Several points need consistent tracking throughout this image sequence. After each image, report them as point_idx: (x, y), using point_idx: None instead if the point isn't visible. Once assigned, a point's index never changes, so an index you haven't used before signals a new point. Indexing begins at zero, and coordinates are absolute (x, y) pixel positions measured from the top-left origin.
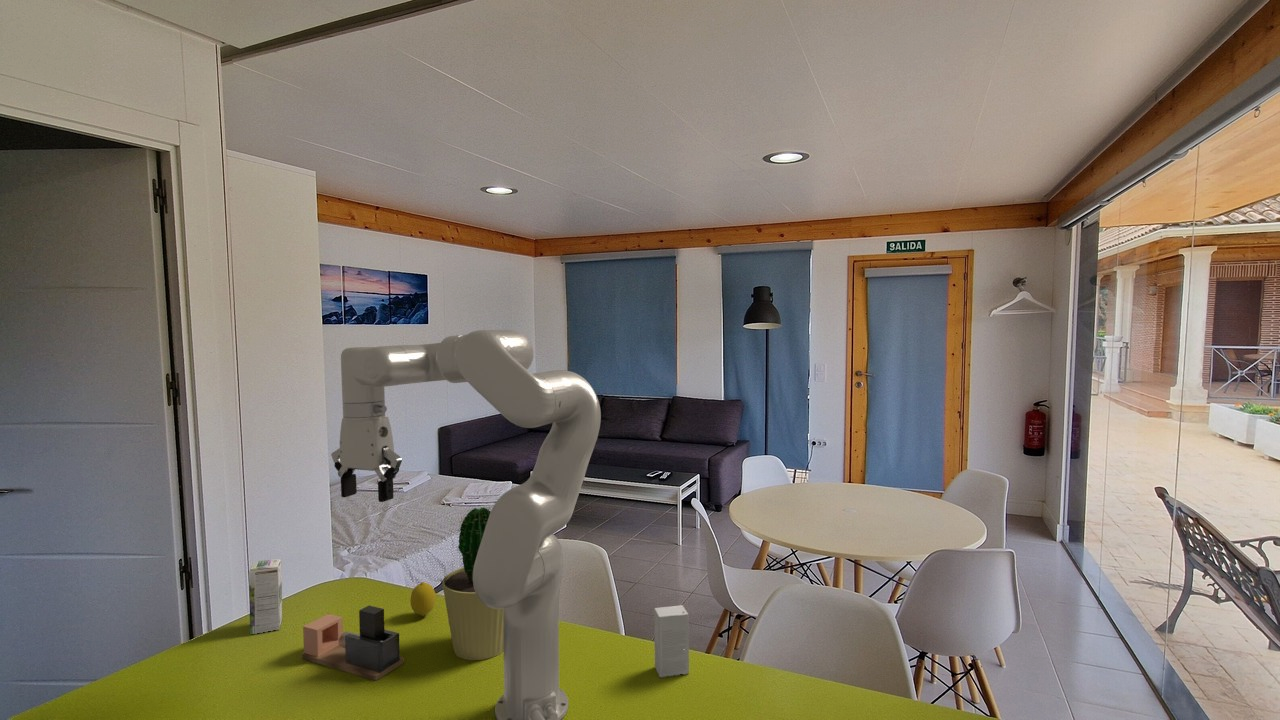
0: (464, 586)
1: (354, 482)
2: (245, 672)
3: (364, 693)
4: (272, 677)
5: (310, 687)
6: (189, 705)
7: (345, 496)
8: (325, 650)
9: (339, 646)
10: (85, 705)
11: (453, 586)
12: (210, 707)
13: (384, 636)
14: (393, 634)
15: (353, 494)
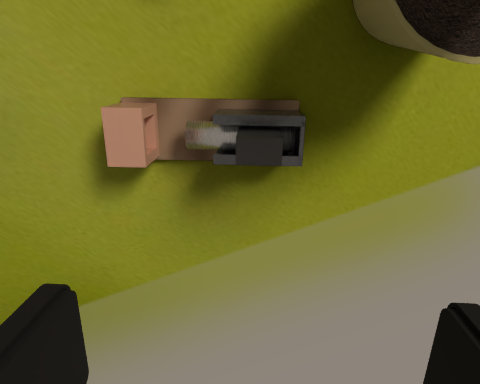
0: (468, 1)
1: (15, 376)
2: (91, 214)
3: (302, 191)
4: (140, 209)
5: (215, 207)
6: (110, 287)
7: (87, 372)
8: (157, 141)
9: (162, 115)
10: None
11: (431, 12)
12: (138, 281)
13: (278, 128)
14: (298, 124)
15: (72, 304)
